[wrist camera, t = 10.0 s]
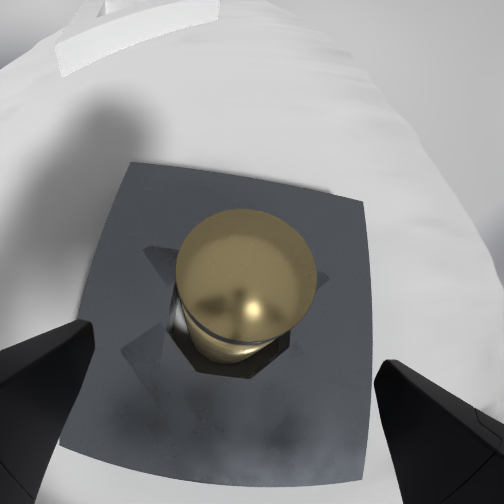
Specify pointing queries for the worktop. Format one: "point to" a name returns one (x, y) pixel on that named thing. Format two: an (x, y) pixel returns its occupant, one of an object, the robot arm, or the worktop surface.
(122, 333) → the grey octagonal hole plate
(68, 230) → the worktop surface
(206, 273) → the cylinder
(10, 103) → the worktop surface
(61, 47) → the triangle block
